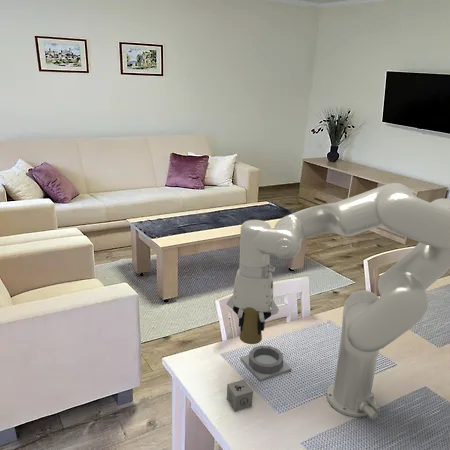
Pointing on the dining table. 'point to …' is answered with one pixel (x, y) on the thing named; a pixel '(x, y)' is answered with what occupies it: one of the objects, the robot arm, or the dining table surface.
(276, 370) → the ring board
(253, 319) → the brown round-headed peg
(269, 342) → the dining table surface
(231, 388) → the dice cube
